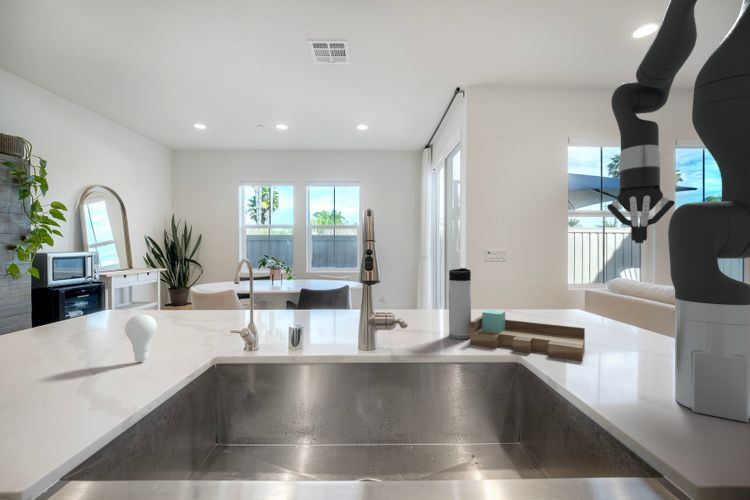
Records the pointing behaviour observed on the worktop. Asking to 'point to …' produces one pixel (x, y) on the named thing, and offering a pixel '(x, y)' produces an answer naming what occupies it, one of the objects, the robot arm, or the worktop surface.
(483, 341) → the walnut tray
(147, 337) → the lightbulb
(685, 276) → the robot arm
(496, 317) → the teal block
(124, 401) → the worktop surface
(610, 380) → the worktop surface
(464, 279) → the travel mug
